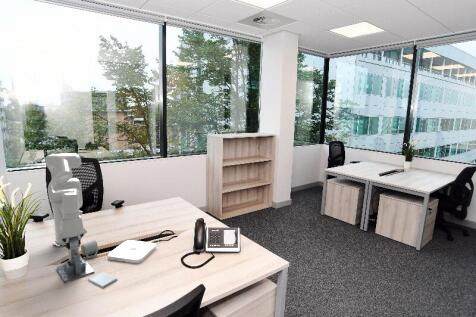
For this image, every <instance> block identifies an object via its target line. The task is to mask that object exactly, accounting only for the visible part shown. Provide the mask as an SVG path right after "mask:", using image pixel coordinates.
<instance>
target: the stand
mask: <svg viewBox="0 0 476 317" xmlns="http://www.w3.org/2000/svg"><path fill="white" fill-rule="evenodd" d="M73 256H74V259H75V265H73V266H71V265H70V262H69V260H66V261H63V264H62V265H59V266H58V265H57V266H56V270H57V272H58V273H59V276H60V278H61V279H62V281H63V282H64V283H63V284H66V283H69V282H72V281H75V280H78V279H80V278H83V277H86V276H89V275H92V274H95V270H94V269H93V267H91V266H90V264H89V262H88V261H87V260H86V259H85V258H82V256H81V253H80V252H79V253H76V254H73Z"/></svg>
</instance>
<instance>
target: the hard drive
mask: <svg viewBox="0 0 476 317" xmlns="http://www.w3.org/2000/svg"><path fill="white" fill-rule="evenodd" d="M87 281H88V282H91V283H92V284H93V285H96V286H97V287H100V288H102V289H105V288H106V287H109V286H110V285H112V284H113V283H116V281H118V278H116V277H115V276H112V275H110V274H108V273H106V272H104V271H101V272H98V273H97V274H95V275H93V276H91V277H88V279H87Z"/></svg>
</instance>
